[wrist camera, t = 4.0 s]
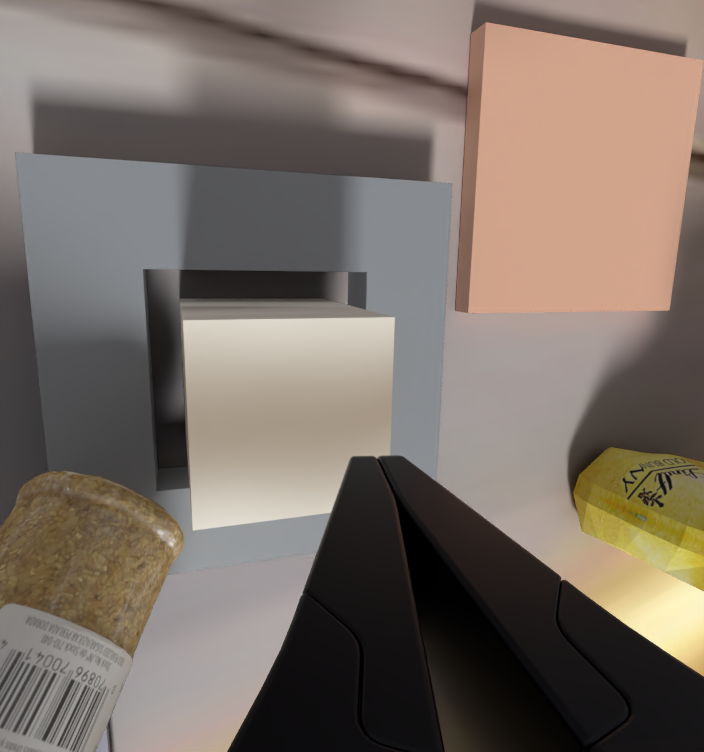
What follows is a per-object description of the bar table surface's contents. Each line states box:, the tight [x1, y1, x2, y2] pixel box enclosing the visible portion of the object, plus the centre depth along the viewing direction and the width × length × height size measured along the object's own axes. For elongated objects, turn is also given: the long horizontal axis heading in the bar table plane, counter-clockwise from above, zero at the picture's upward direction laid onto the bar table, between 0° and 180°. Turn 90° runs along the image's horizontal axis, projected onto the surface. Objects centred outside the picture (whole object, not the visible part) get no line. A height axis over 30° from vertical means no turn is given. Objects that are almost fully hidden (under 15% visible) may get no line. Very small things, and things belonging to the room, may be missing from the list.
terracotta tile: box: [455, 22, 704, 313], centre depth 22 cm, size 10×10×1 cm
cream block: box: [179, 298, 395, 531], centre depth 16 cm, size 5×5×7 cm
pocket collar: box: [15, 152, 452, 575], centre depth 19 cm, size 13×13×2 cm
